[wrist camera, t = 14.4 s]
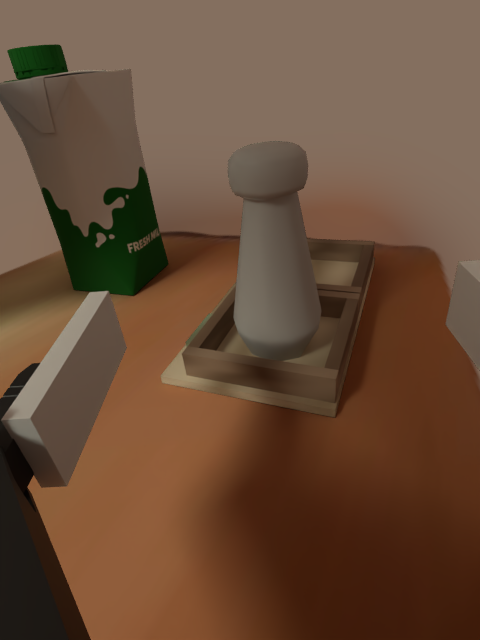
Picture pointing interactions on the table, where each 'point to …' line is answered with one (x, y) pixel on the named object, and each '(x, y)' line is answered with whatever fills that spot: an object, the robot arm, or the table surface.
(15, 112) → the milk carton
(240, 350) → the socket board
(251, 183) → the salt shaker
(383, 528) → the table surface
